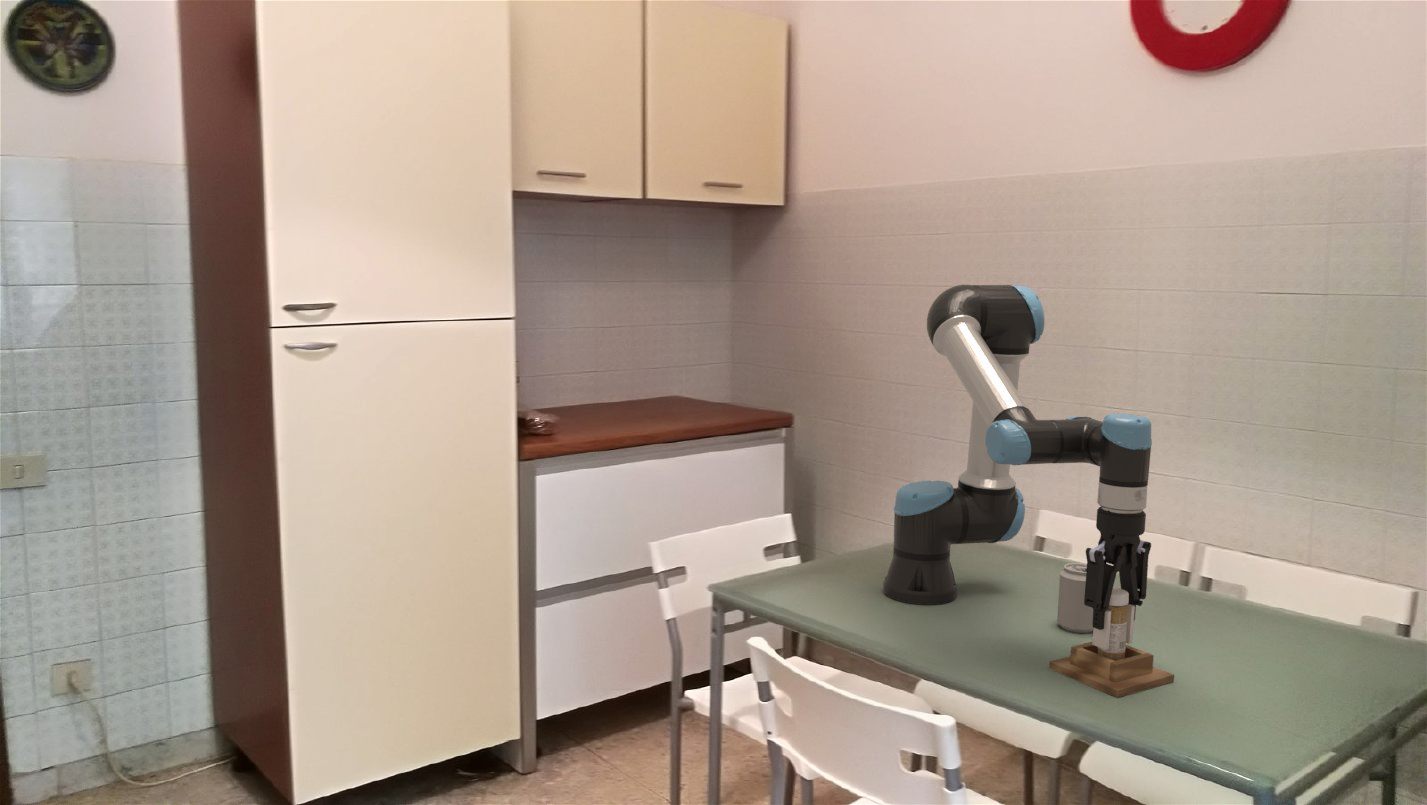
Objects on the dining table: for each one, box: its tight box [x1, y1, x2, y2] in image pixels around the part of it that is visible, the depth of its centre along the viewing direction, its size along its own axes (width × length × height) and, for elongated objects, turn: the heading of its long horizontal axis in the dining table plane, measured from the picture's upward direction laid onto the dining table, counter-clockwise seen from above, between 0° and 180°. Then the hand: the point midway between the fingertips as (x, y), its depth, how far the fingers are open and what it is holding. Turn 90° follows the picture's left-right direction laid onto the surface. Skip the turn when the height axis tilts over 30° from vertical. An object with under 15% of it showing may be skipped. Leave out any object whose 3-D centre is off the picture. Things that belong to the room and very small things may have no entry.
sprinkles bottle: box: [1098, 587, 1129, 661], centre depth 173 cm, size 5×5×13 cm
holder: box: [1048, 641, 1175, 699], centre depth 174 cm, size 14×14×4 cm
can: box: [1056, 562, 1093, 634], centre depth 197 cm, size 8×8×12 cm
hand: (1112, 643), depth 174 cm, fingers open, 5 cm apart
